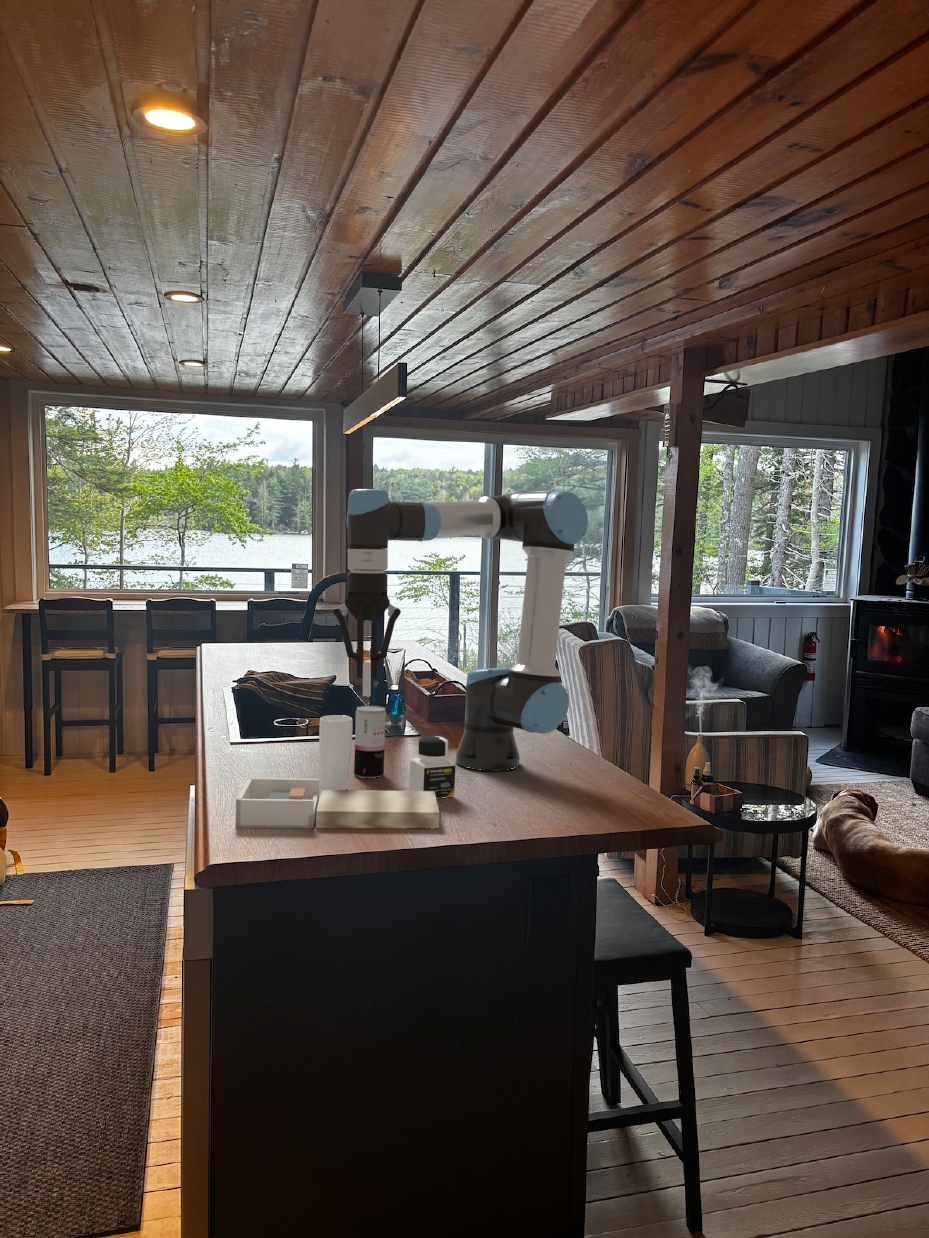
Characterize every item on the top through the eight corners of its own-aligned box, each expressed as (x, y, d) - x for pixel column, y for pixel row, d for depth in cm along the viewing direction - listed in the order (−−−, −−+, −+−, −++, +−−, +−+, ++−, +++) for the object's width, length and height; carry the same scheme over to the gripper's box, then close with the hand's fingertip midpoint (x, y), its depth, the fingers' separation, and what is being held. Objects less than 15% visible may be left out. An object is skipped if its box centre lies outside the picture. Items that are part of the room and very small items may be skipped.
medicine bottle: (423, 801, 176) (425, 742, 175) (408, 792, 182) (410, 735, 181) (454, 798, 179) (457, 740, 178) (439, 789, 185) (441, 733, 184)
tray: (318, 804, 171) (319, 778, 170) (312, 828, 156) (313, 800, 155) (247, 803, 169) (248, 777, 169) (235, 827, 154) (236, 799, 154)
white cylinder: (356, 787, 183) (358, 716, 182) (341, 795, 177) (343, 722, 176) (327, 783, 186) (329, 713, 184) (311, 791, 179) (313, 719, 178)
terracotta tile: (305, 788, 161) (291, 788, 161) (303, 795, 156) (288, 795, 156) (304, 814, 162) (290, 814, 161) (302, 823, 157) (288, 823, 157)
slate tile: (270, 791, 167) (270, 804, 167) (267, 799, 162) (267, 812, 162) (297, 792, 167) (296, 805, 168) (294, 799, 162) (294, 812, 163)
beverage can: (347, 774, 194) (349, 707, 193) (370, 770, 199) (372, 704, 197) (367, 780, 189) (369, 712, 188) (389, 775, 194) (392, 709, 193)
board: (433, 806, 172) (434, 791, 172) (438, 828, 158) (439, 812, 158) (321, 804, 170) (321, 789, 170) (315, 827, 156) (316, 811, 156)
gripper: (331, 572, 161) (331, 698, 163) (402, 573, 163) (401, 698, 165) (333, 570, 169) (333, 691, 171) (401, 571, 170) (400, 691, 172)
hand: (366, 694), depth 168 cm, fingers closed
